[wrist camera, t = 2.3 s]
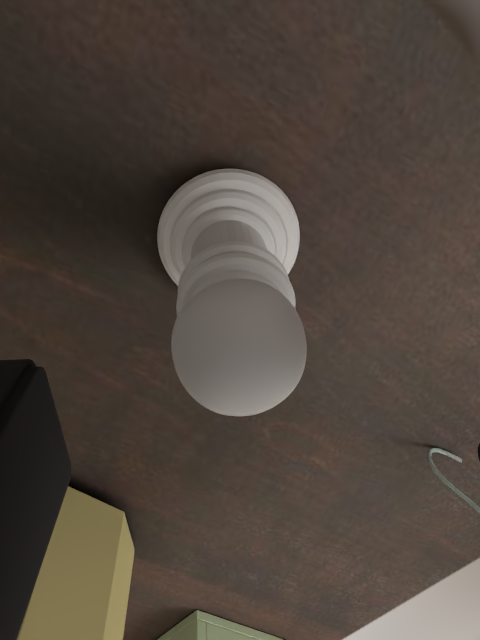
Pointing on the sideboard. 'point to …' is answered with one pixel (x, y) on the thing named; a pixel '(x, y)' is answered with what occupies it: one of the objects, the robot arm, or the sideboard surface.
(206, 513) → the sideboard surface
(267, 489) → the sideboard surface
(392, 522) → the sideboard surface
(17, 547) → the robot arm
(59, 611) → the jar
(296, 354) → the chess piece
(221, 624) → the socket pad
